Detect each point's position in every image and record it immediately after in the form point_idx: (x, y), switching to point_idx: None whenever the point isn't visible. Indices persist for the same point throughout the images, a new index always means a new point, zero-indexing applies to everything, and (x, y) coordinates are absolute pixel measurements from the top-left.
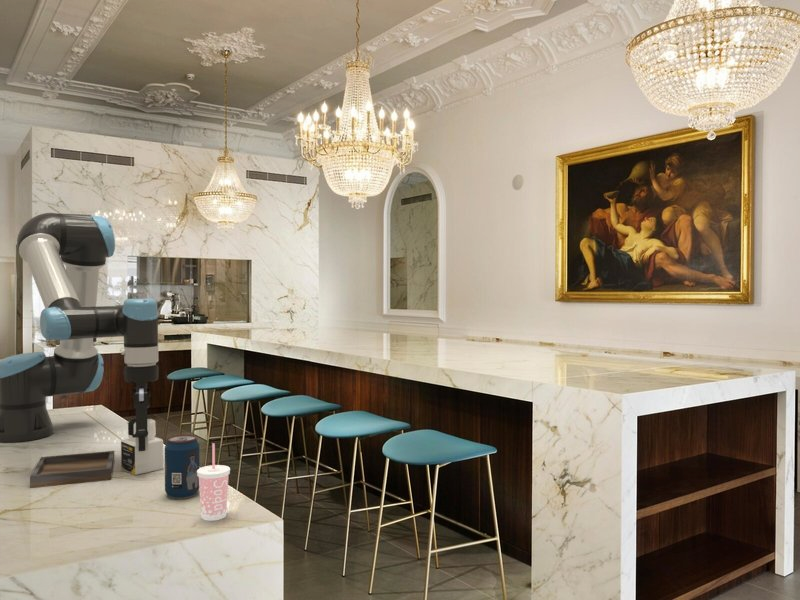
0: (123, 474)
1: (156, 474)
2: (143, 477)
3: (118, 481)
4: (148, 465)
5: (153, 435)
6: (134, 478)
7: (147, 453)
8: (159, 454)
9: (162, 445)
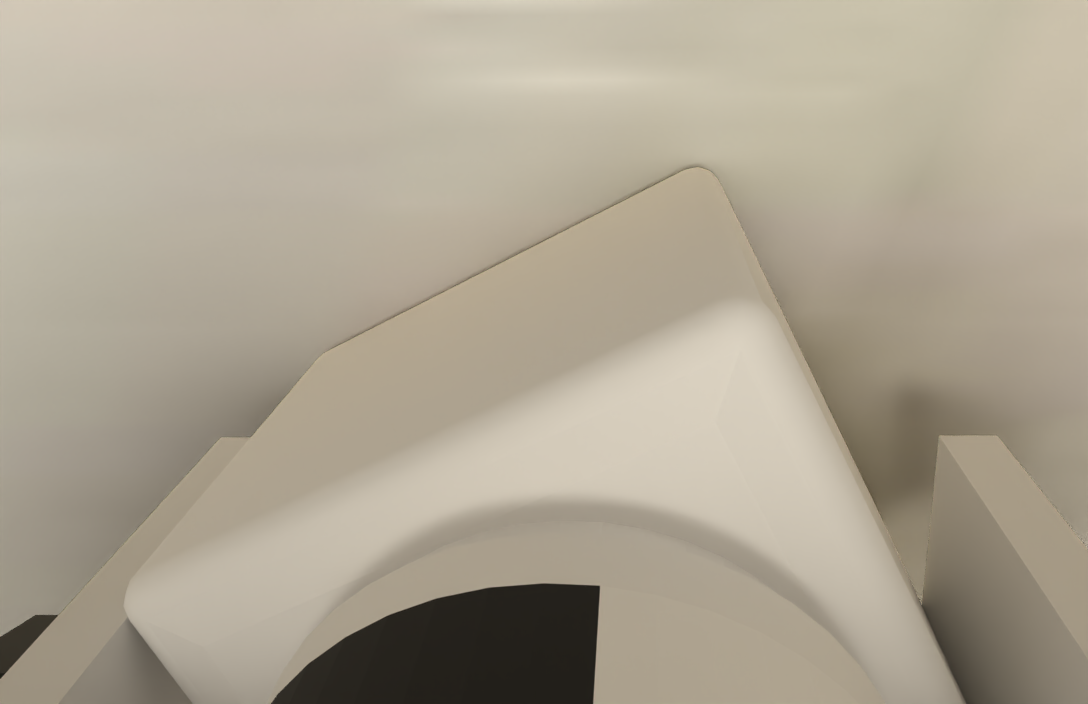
0: None
1: (953, 259)
2: (1023, 427)
3: None
4: (827, 408)
5: (773, 603)
6: None
7: (1070, 544)
8: (767, 287)
9: (758, 277)
